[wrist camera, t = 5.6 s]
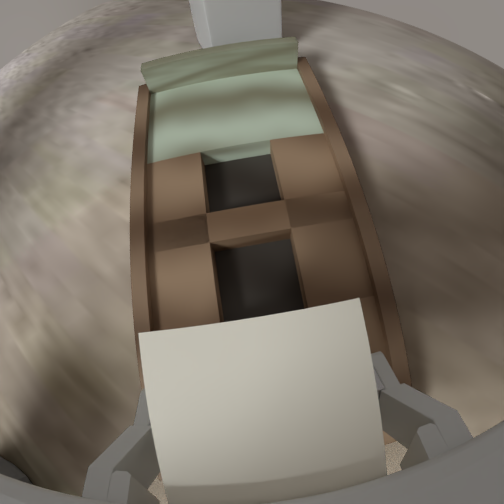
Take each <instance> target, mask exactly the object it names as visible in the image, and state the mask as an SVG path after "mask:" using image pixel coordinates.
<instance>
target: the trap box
mask: <svg viewBox="0 0 504 504" xmlns="http://www.w3.org/2000/svg"><path fill="white" fill-rule="evenodd" d="M141 72H142V74H143V77H144V79H145V82H146V84H144V85H141V86H139V91H138V99H137V107H136V117H135V127H134V139H133V152H132V168H131V192H130V265H131V289H132V305H133V319H134V331H135V341H136V351H137V360H138V368H139V376H140V383H141V390H143V389H144V388H145V386H144V378H143V371H142V363H141V354H140V345H139V335H138V333H143V332H152V331H161V330H169V329H178V328H186V327H193V326H201V325H208V324H215V323H222V322H229V321H235V320H242V319H248V318H255V317H261V316H267V315H273V314H278V313H284V312H290V311H295V310H301V309H306V308H311V307H317V306H322V305H327V304H332V303H337V302H342V301H347V300H351V299H356V298H360V303H361V307H362V312H363V316H364V321H365V326H366V331H367V336H368V341H369V346H370V352H371V354H372V353H376V352H379V351H381V352H382V353H383V354H384V356H385V358H386V360H387V361H388V363H389V365H390V367H391V369H392V370H393V372H394V374H395V376H396V377H397V379H398V381H399V383H400V384H403V383H405V384H407V385H409V386H410V387H412V383H411V377H410V371H409V365H408V359H407V354H406V349H405V343H404V338H403V333H402V329H401V324H400V319H399V315H398V311H397V306H396V302H395V298H394V294H393V290H392V286H391V282H390V278H389V274H388V270H387V267H386V263H385V260H384V256H383V253H382V249H381V246H380V242H379V239H378V236H377V232H376V229H375V226H374V223H373V220H372V217H371V214H370V211H369V208H368V205H367V202H366V199H365V196H364V193H363V190H362V187H361V184H360V182H359V179H358V176H357V173H356V171H355V168H354V165H353V163H352V160H351V158H350V155H349V153H348V150H347V147H346V145H345V143H344V140H343V138H342V135H341V133H340V130H339V128H338V126H337V123H336V121H335V119H334V116H333V114H332V112H331V110H330V107H329V105H328V103H327V101H326V98H325V96H324V94H323V92H322V90H321V88H320V86H319V84H318V81H317V79H316V77H315V75H314V73H313V71H312V69H311V67H310V65H309V63H308V61H307V59H306V57H298V41H297V39H296V38H295V37H284V38H272V39H262V40H254V41H246V42H239V43H232V44H226V45H220V46H214V47H209V48H204V49H199V50H194V51H189V52H185V53H180V54H176V55H172V56H168V57H164V58H160V59H156V60H153V61H149V62H146V63H142V65H141ZM383 438H384V445H386V444H389V443H392V442H395V441H396V440H395V439H394V438H392V437H391V436H390V435H388V434H387V433H386V432H384V431H383ZM158 478H159V480H162V476H161V472H160V473H159V474H158ZM162 481H163V480H162Z"/></svg>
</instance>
